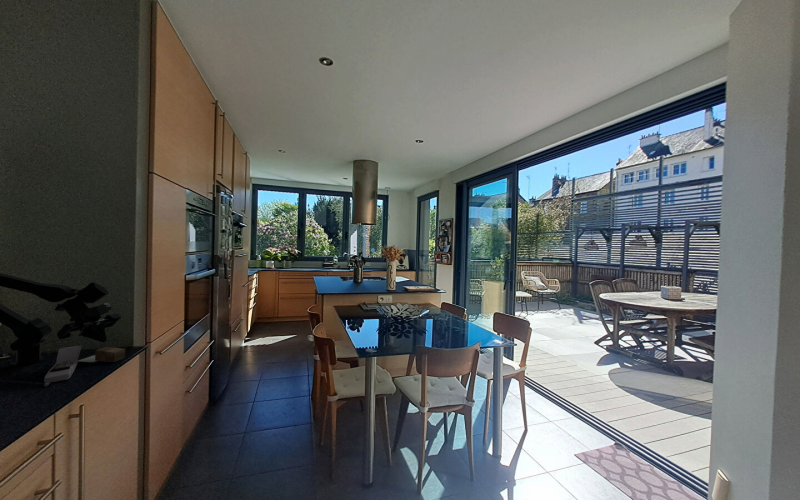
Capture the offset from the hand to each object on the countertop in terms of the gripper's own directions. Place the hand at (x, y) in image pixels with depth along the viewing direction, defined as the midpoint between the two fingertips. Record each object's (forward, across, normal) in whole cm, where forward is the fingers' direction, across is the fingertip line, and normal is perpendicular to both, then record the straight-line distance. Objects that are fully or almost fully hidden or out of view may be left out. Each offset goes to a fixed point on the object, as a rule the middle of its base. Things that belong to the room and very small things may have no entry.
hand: (104, 341), depth 117 cm
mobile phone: (+4, -12, +7) cm, 14 cm away
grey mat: (+2, -1, +8) cm, 8 cm away
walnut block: (+2, 0, +4) cm, 5 cm away
